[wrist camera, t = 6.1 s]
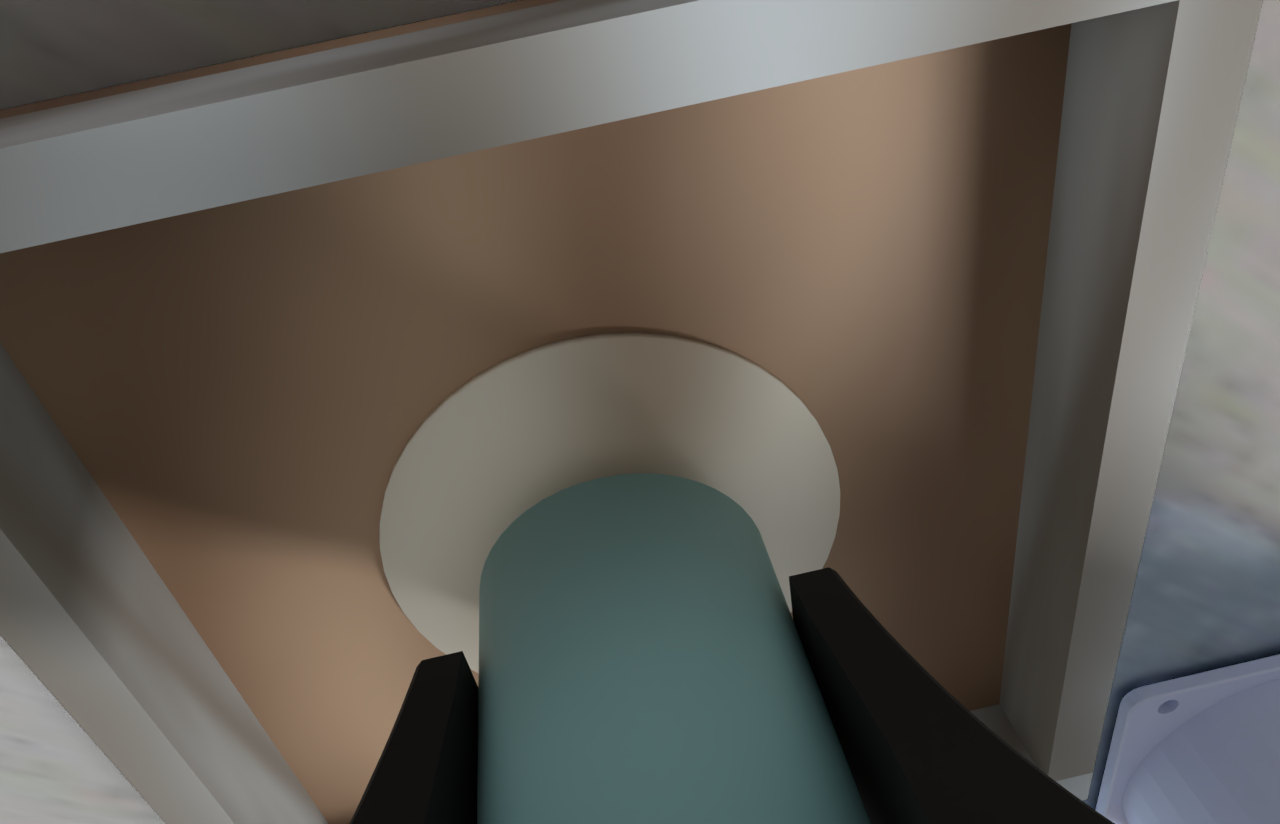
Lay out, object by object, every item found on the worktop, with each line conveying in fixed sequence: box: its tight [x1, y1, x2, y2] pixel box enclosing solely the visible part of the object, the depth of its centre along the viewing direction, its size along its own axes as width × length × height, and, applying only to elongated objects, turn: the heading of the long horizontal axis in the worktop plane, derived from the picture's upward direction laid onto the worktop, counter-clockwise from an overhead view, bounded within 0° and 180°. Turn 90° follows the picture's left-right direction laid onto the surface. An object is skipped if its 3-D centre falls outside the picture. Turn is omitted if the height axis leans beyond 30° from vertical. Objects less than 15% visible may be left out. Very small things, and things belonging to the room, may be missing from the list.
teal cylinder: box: [477, 473, 871, 824], centre depth 12 cm, size 5×5×6 cm
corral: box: [0, 0, 1263, 824], centre depth 14 cm, size 17×17×3 cm
